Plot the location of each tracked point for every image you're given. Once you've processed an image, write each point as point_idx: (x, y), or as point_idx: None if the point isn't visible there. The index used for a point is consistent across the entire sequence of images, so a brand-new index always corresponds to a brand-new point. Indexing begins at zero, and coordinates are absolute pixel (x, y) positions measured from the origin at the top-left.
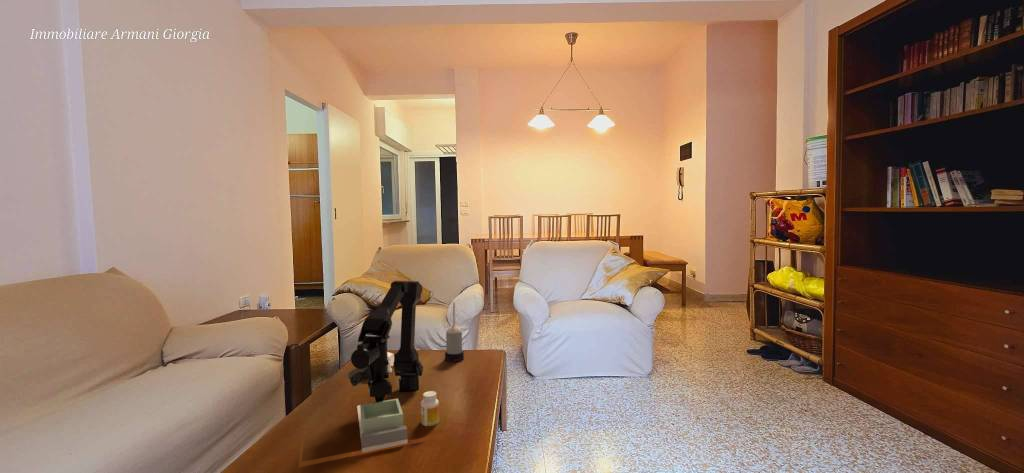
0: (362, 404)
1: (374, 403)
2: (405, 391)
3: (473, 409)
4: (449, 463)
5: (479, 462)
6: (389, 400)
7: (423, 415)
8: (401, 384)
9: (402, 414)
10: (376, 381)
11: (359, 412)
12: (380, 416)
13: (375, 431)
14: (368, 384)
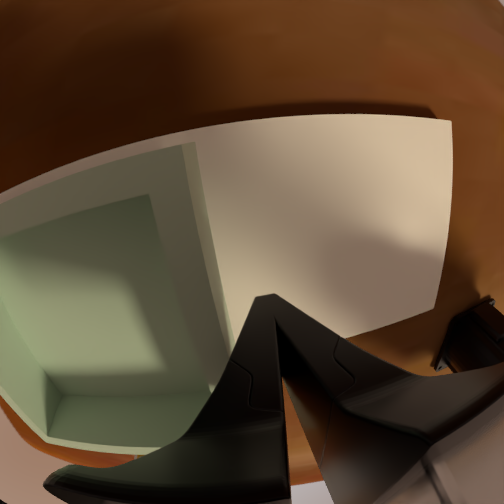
0: (180, 176)
1: (188, 324)
2: (461, 334)
3: None
4: (6, 414)
5: (29, 444)
6: None
7: (138, 457)
8: (487, 338)
9: (45, 438)
10: None
11: (374, 124)
12: (127, 315)
13: None
14: (469, 425)
